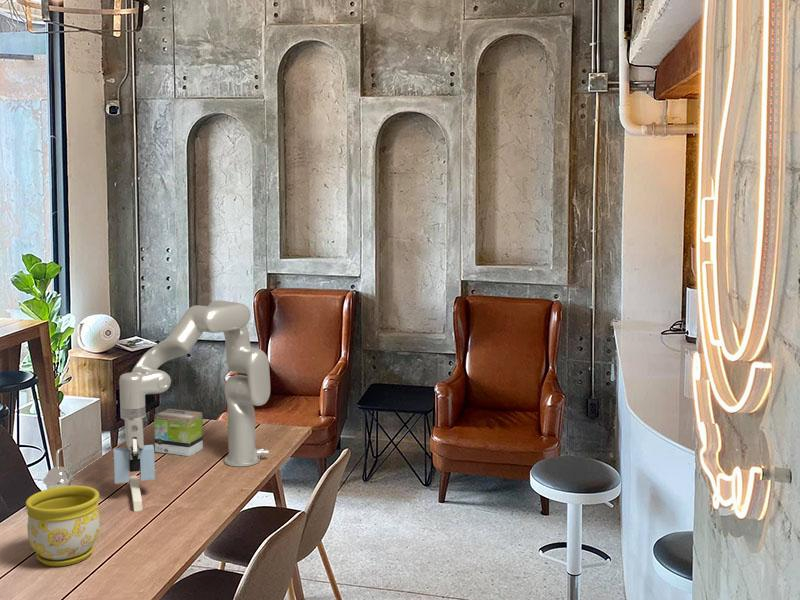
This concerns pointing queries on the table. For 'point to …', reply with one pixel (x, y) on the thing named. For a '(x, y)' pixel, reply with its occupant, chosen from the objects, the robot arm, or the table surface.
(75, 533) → the flowerpot
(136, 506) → the rail
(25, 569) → the table surface
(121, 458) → the grey-blue plate
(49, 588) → the table surface
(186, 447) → the tea box
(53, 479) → the cup with straw
